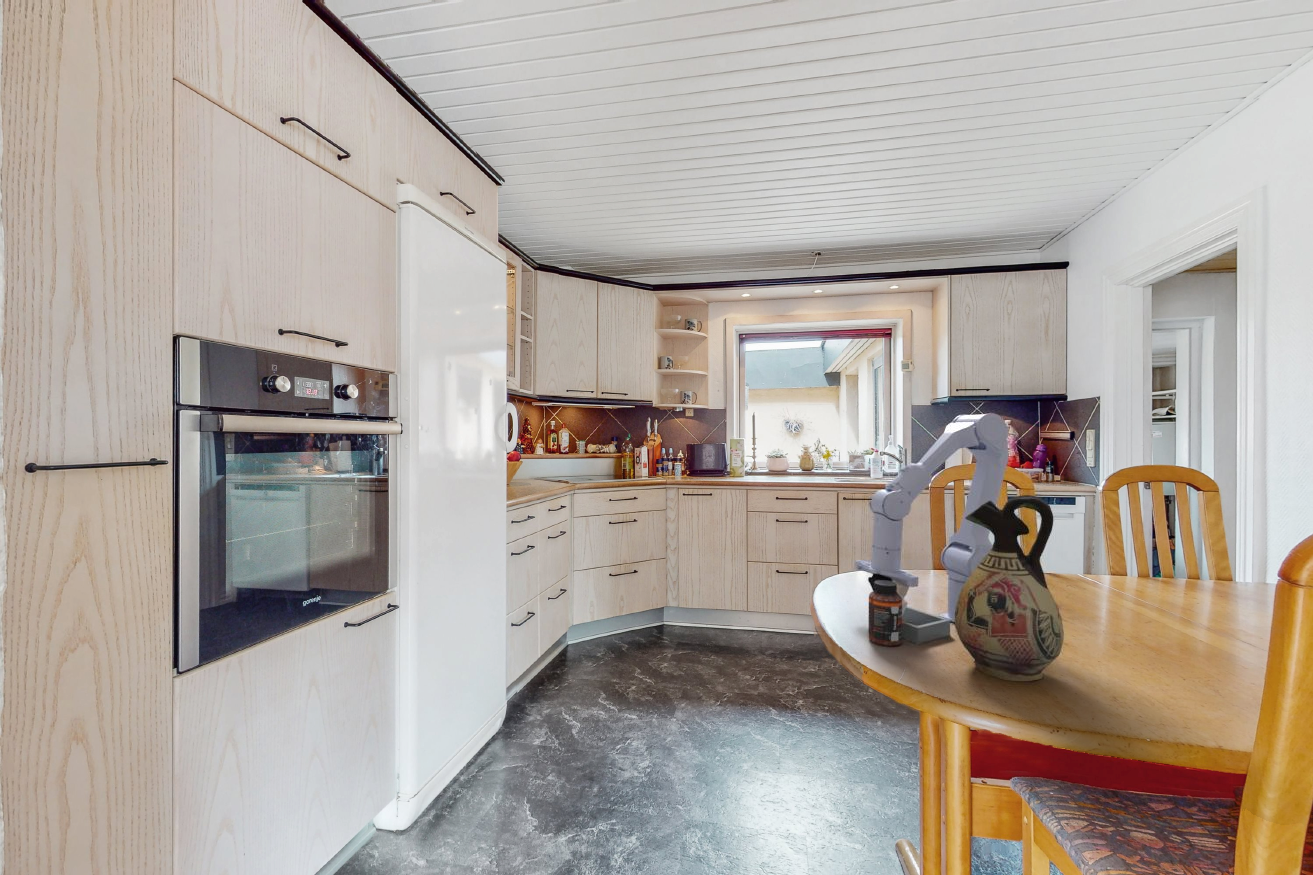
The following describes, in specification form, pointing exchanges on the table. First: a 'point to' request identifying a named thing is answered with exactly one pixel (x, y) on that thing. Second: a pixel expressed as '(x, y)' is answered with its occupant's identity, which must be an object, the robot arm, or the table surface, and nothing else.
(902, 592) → the pepper shaker
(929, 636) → the box
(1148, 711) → the table surface
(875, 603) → the supplement bottle
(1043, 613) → the ceramic jug
